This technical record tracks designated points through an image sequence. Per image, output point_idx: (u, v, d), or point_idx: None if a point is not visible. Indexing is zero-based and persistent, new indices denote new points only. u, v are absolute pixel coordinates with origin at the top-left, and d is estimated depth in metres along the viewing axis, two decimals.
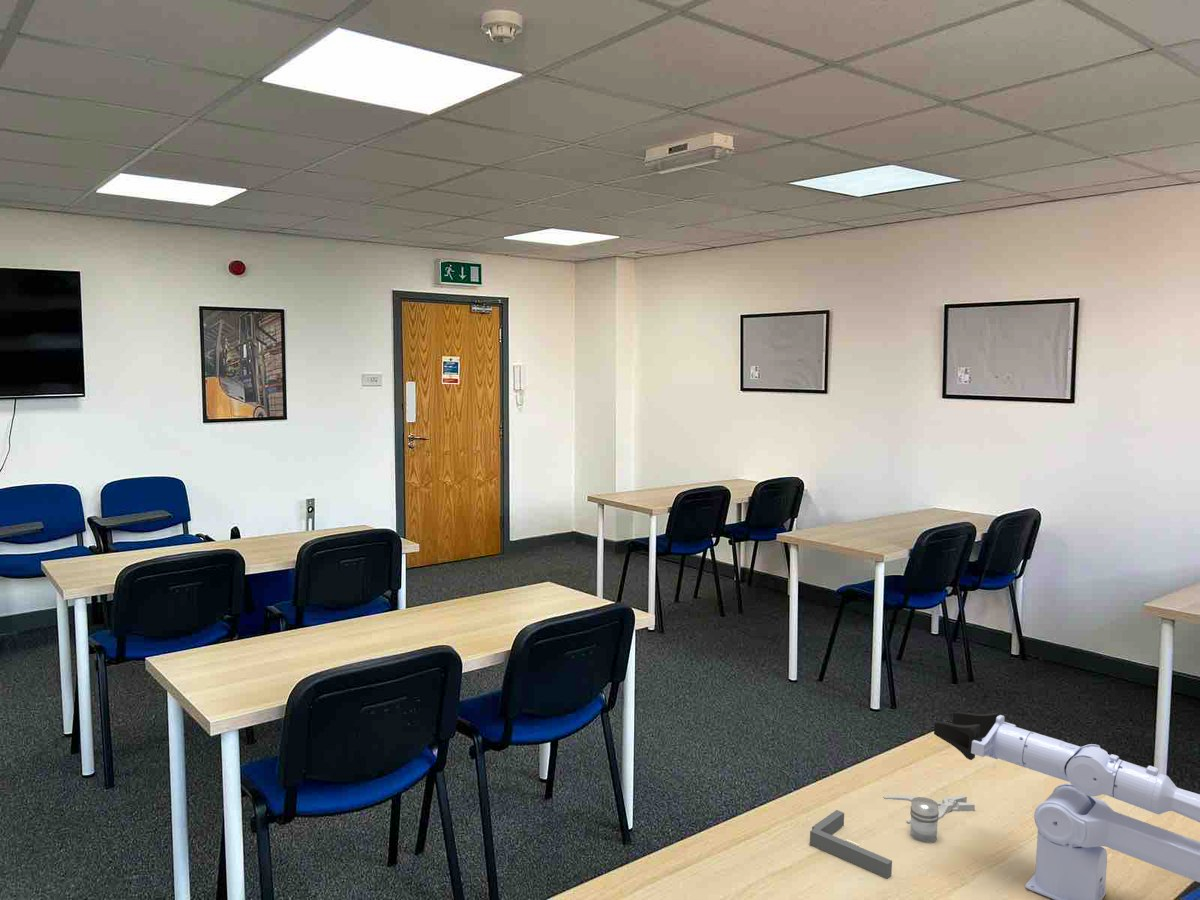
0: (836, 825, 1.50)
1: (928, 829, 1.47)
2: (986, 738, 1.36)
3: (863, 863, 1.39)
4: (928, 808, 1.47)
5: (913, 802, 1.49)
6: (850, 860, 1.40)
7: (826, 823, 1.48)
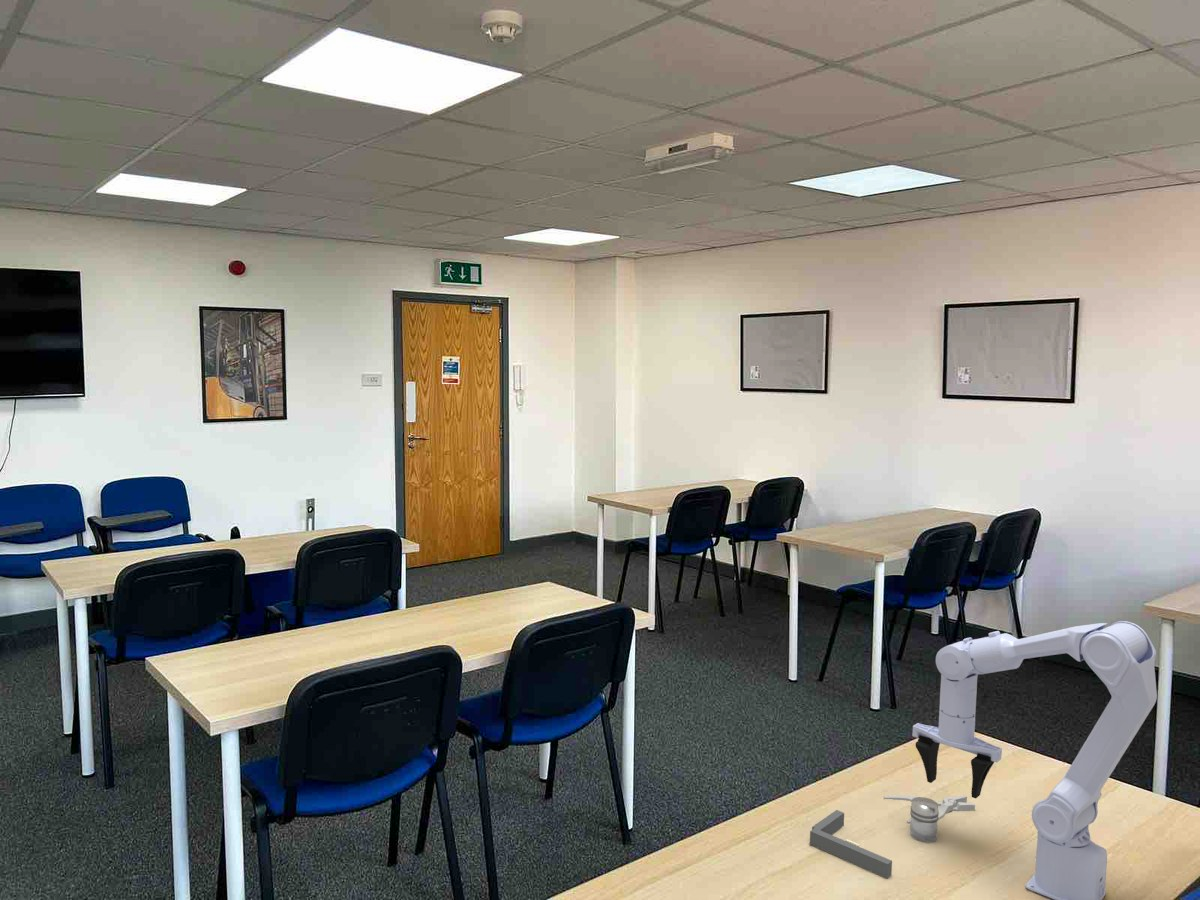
0: (836, 825, 1.50)
1: (928, 829, 1.47)
2: (930, 728, 1.51)
3: (863, 863, 1.39)
4: (928, 808, 1.47)
5: (913, 802, 1.49)
6: (850, 860, 1.40)
7: (826, 823, 1.48)
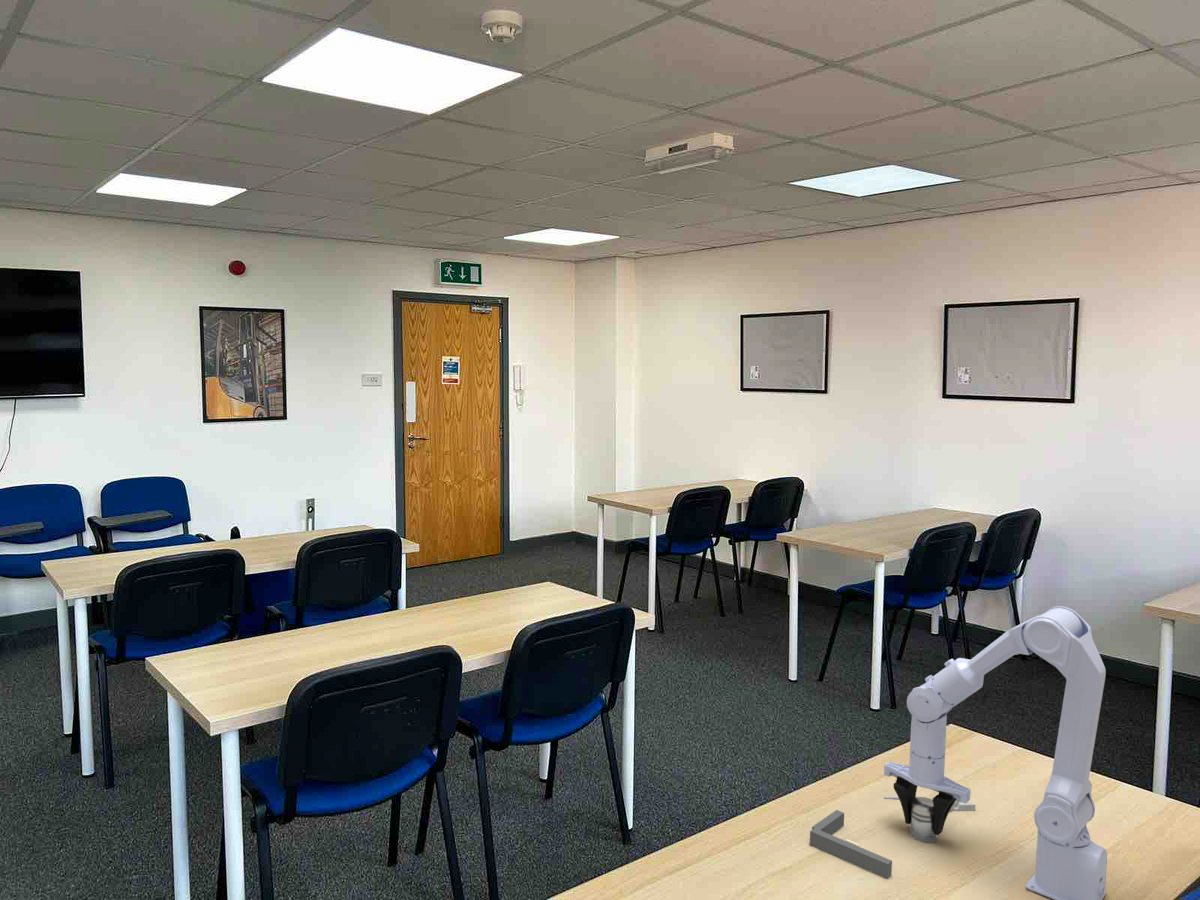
0: (836, 825, 1.50)
1: (928, 829, 1.47)
2: None
3: (863, 863, 1.39)
4: (928, 808, 1.47)
5: (913, 802, 1.49)
6: (850, 860, 1.40)
7: (826, 823, 1.48)
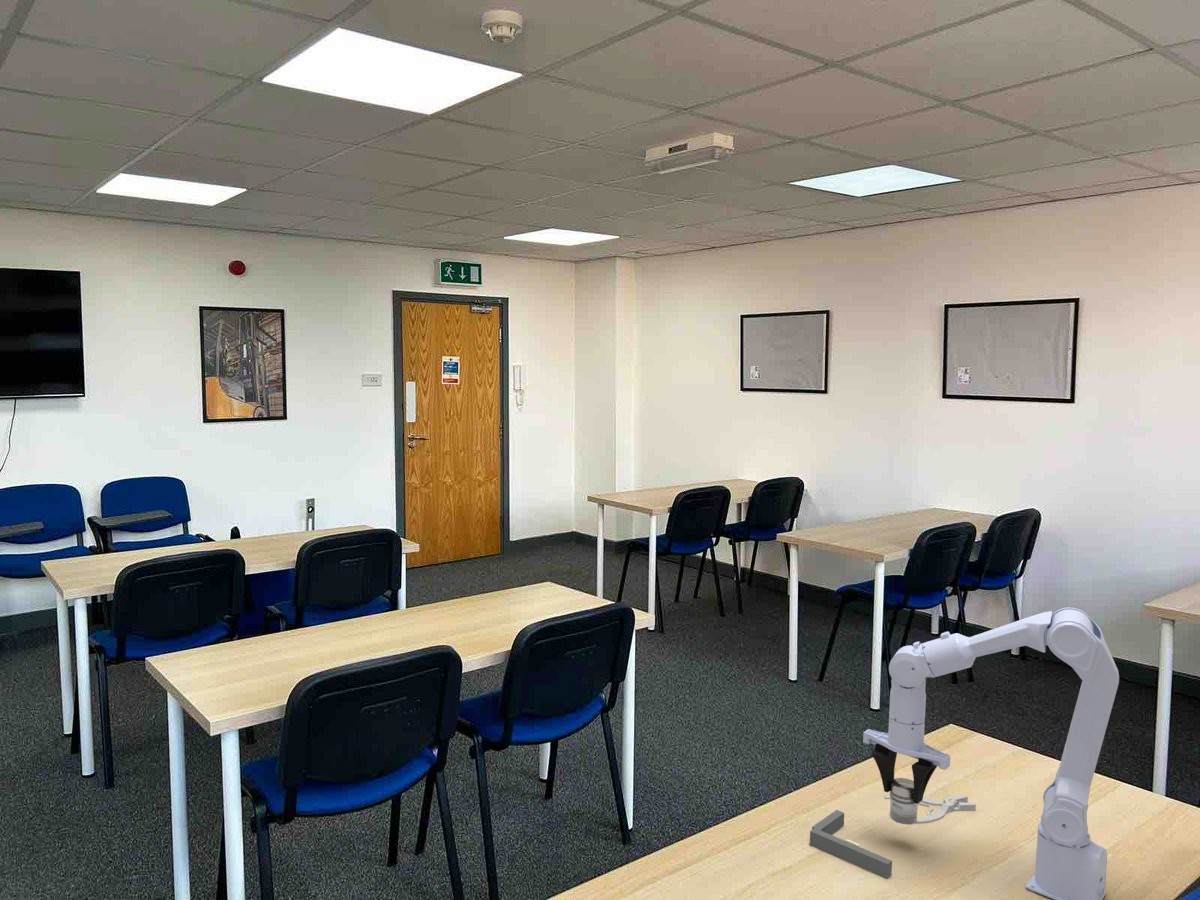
0: (836, 825, 1.50)
1: (907, 811, 1.43)
2: None
3: (863, 863, 1.39)
4: (907, 789, 1.43)
5: (892, 783, 1.45)
6: (850, 860, 1.40)
7: (826, 823, 1.48)
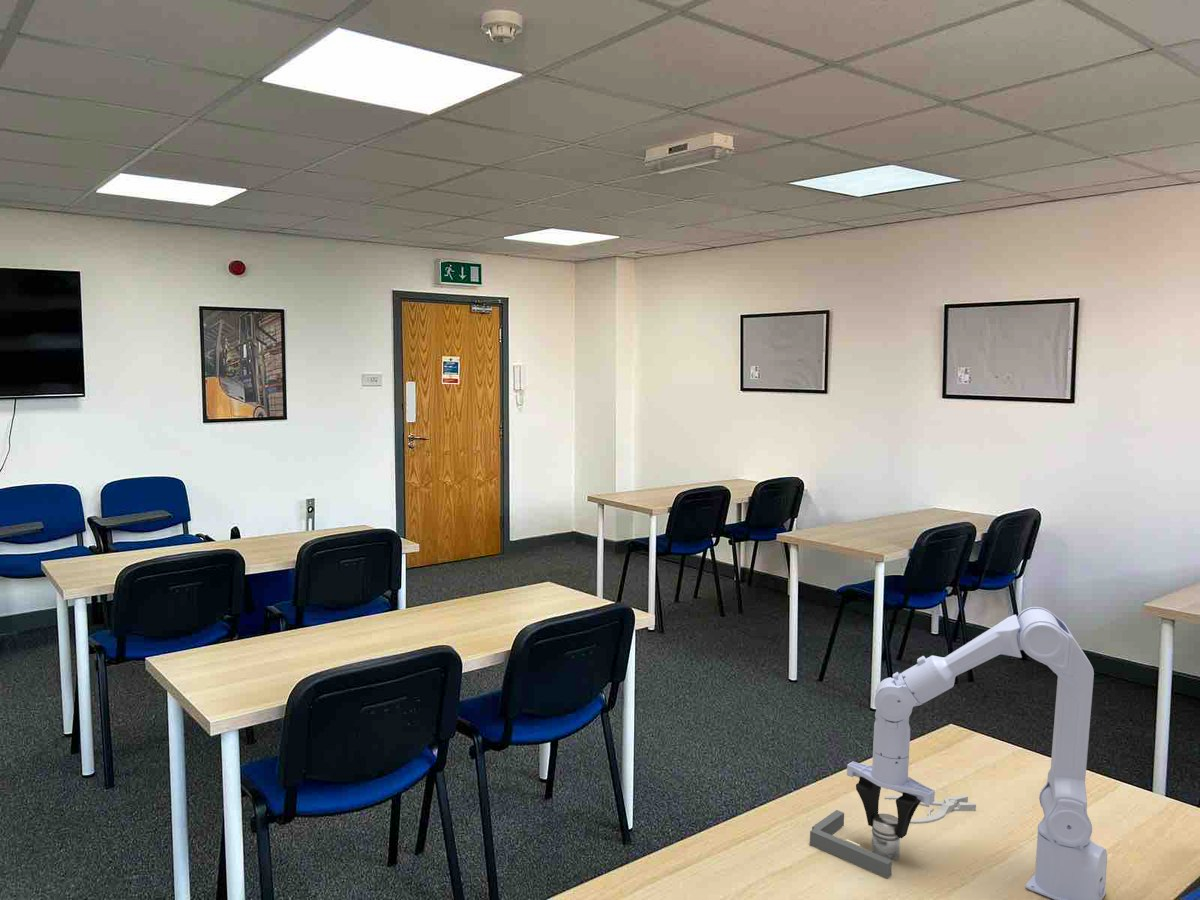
0: (836, 825, 1.50)
1: (889, 848, 1.41)
2: (865, 767, 1.47)
3: (863, 863, 1.39)
4: (889, 825, 1.41)
5: (874, 819, 1.43)
6: (850, 860, 1.40)
7: (826, 823, 1.48)
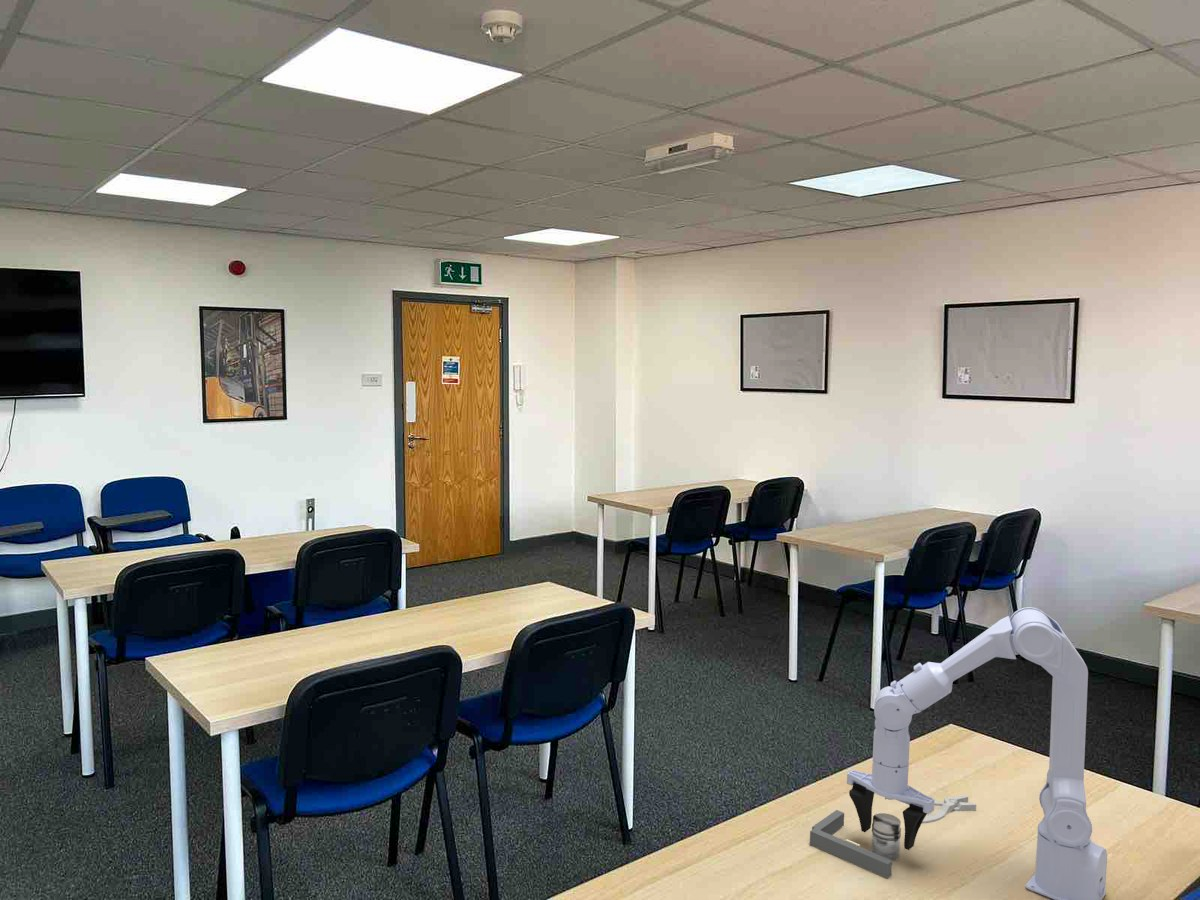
0: (836, 825, 1.50)
1: (889, 847, 1.41)
2: (864, 775, 1.47)
3: (863, 863, 1.39)
4: (889, 825, 1.41)
5: (874, 818, 1.43)
6: (850, 860, 1.40)
7: (826, 823, 1.48)
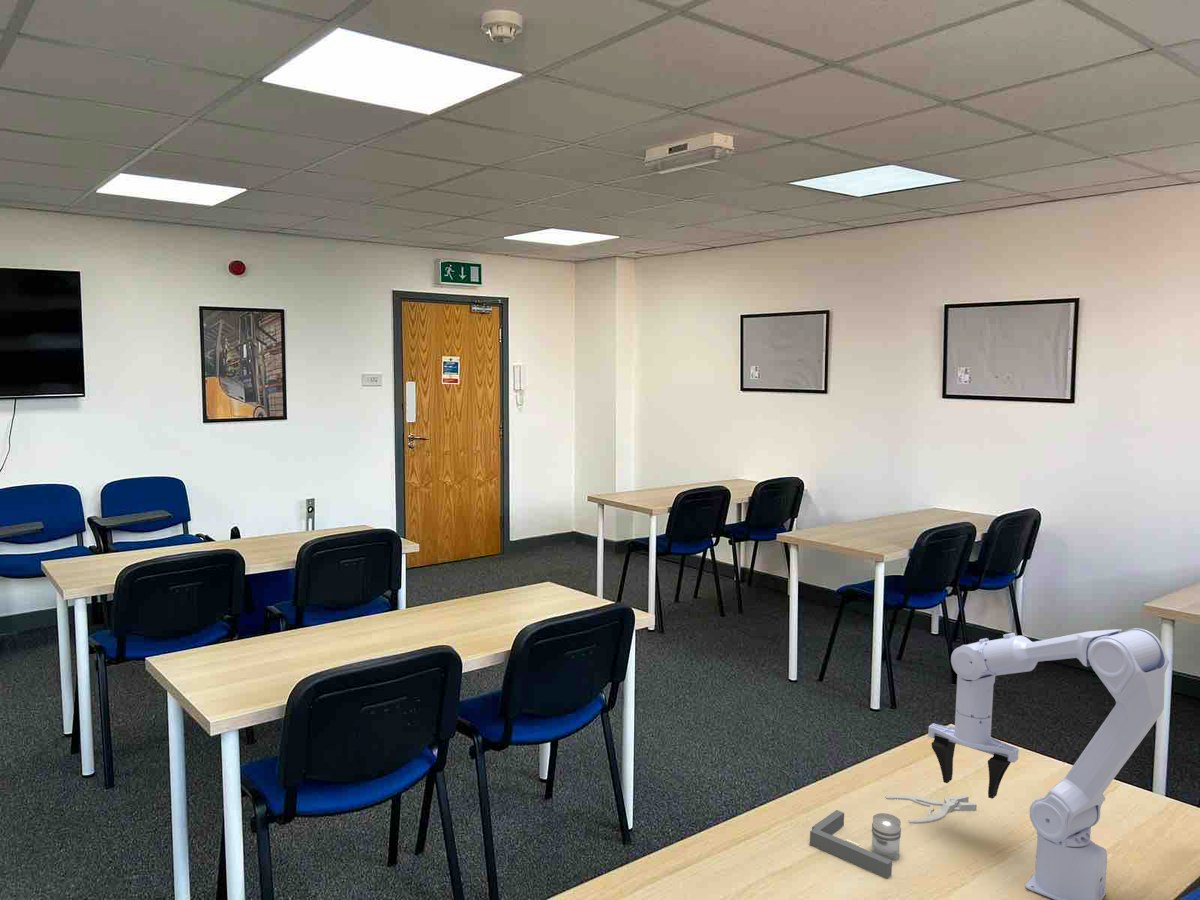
0: (836, 825, 1.50)
1: (889, 847, 1.41)
2: (945, 728, 1.51)
3: (863, 863, 1.39)
4: (889, 825, 1.41)
5: (874, 818, 1.43)
6: (850, 860, 1.40)
7: (826, 823, 1.48)
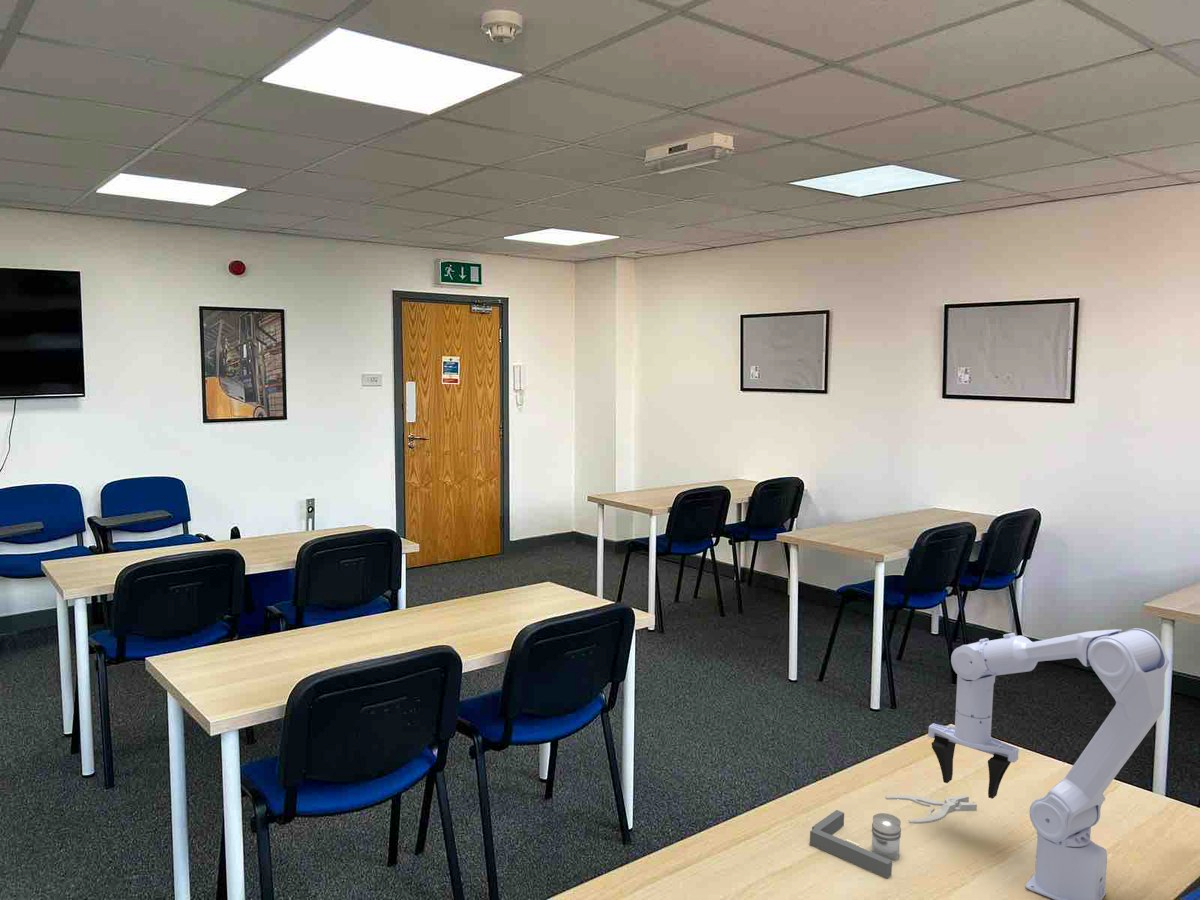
0: (836, 825, 1.50)
1: (889, 847, 1.41)
2: None
3: (863, 863, 1.39)
4: (889, 825, 1.41)
5: (874, 818, 1.43)
6: (850, 860, 1.40)
7: (826, 823, 1.48)
